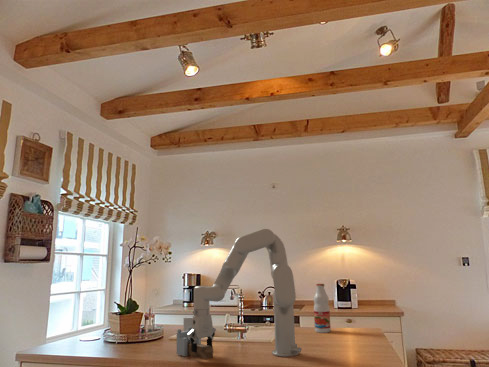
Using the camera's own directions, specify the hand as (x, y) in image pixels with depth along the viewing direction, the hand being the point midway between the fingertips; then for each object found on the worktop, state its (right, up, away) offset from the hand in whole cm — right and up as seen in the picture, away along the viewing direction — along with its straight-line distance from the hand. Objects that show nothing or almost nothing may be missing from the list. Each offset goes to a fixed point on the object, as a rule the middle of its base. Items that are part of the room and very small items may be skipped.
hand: (201, 350), depth 192 cm
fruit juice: (+67, -11, +53) cm, 87 cm away
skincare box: (-8, -7, +23) cm, 25 cm away
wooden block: (-2, -3, +1) cm, 4 cm away
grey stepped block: (-8, -4, +6) cm, 11 cm away
